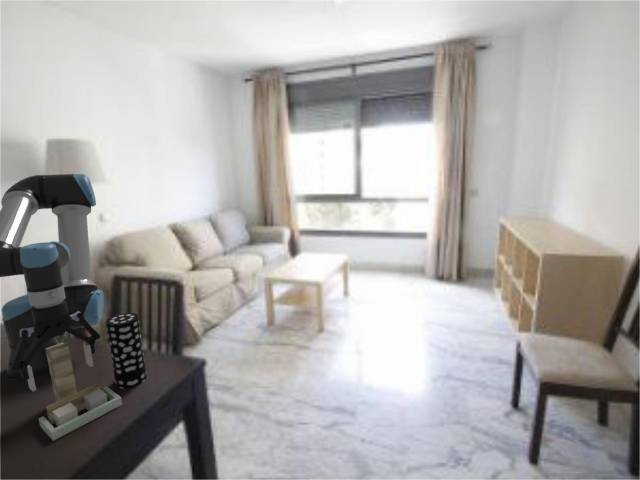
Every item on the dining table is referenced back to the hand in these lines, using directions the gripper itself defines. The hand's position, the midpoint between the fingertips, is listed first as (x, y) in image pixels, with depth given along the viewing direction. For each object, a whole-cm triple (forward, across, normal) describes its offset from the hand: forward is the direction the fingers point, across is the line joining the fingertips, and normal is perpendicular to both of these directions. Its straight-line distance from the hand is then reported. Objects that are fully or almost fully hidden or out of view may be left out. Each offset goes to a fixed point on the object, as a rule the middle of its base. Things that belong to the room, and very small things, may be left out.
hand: (63, 376), depth 100 cm
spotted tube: (+8, +15, -5) cm, 18 cm away
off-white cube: (+8, -4, -10) cm, 13 cm away
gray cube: (+8, +3, -10) cm, 13 cm away
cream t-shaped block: (+7, 0, -3) cm, 8 cm away
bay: (+8, 0, -10) cm, 13 cm away
